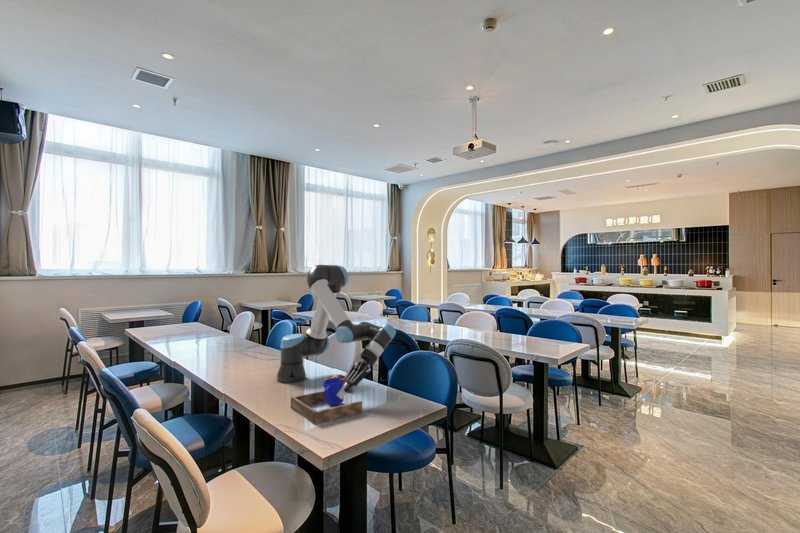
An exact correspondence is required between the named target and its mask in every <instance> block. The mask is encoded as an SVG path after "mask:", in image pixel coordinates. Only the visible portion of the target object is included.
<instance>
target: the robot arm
mask: <svg viewBox="0 0 800 533" xmlns="http://www.w3.org/2000/svg"><path fill="white" fill-rule="evenodd" d="M348 282H349V274H348V271H347V269H346V268H345V267H344V266H343V265H337V264H334V265H333V264H316V265H314V266H313V267H311V268H310V269H309V271H308V273H307V275H306V284H307V287H308V289H309V290H310V292H311V293H312V294H315V296H316V297H317V299H318V300H317V304H316V307H315V311H314V314H313V317H312V321H311V324H310V328H308V329H306V332H305V335H304V333H303V334H302V333H293V334H287V335H284V336H283V337H282V339H281V341H280V365H279V367H278V368H279V369H278V371H277V374H276V381H277V382H278V383H283V384H285V383H286V384H288V383H289V384H293V383H299V382H303V381H305V380H306V379H307V373H306V370H305V366H304V358H309V357H313V356H314V357H315V356H319V355H323V354H325V353H326V352H327V351H328V349H329V346H330V342H329V340H330V338H329V337H328V334H327V332H326V331H327V327H328V323H329V320H330V321H331V322H332V324H333V326H334V327H335V329H336V330H335V333H334V334H335V335H334V336H335V339H336V341H337V342H338V343H340V344H349V343H353V342H361V341H367V340H369V342H368V344H367V345H366V346H365V348H364V349H363V350H362V352H361V353H360V358H359V359H358V360H357V362H355V361H352V363H351V366H350V367H349V369H348V371H347V372H346V375H344V376H345V378H344V380H345V383H344V385H343V386H342V388H341V389H340V391H339V392H338V393H337V396H338V397H339V398H340V399H342V398H343V399H344V397H345V396H346V394H347V393H348V392H349V391H350V389H351V388H353V387H357V386H358V384H359V383H361V381H362V380H363V379H364V378H365V377H366V376H368V374H369V373H371V372H372V369H371V366H374V365H375V364H376V362H377V361H378V358H380V357H381V355H382V353H383V352H384V351H385V350H386V348H387V347H388V346H389V344H390V343H391V342H392V340H393V339H394V337H395V336H396V335H397V334H396V333H397V331H396V329H395V328H394V327H393V325H392V324H389V323H383V324H382V325H381V326H378V325H376V324H373V323H371V322H368V321H361V322H360V323H358V324H353V322H352V321H351V319H350V318H349V316H348V314H347V313H346V311H345V310H344V308H343V306H342V305H341V304H340V301H339V300H338V299H337V295H338V294H340V293H341V289H342V288H344V287H345V286H347V285H348Z"/></svg>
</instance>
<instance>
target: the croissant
mask: <svg viewBox="0 0 800 533" xmlns="http://www.w3.org/2000/svg"><path fill="white" fill-rule="evenodd" d="M345 376H346V375H343V374H335V375H333V374H331V375H329V376H326V378H324V381H325V380H327V379H330V378H336V377H339V378H342V386H343V385H344V383H345V380H344V378H345Z"/></svg>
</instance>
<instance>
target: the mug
mask: <svg viewBox="0 0 800 533" xmlns="http://www.w3.org/2000/svg"><path fill="white" fill-rule="evenodd" d="M322 385H323V386H322V387H323V391H324V392H325V397H326V401H325V402H326V404H327V405H328V406H337V405H338V406H339V405H341V404H342V403H343V402H344V397H343V398H342V399H340V398H339V397H338V396H337V393H338V392H339V391H340V389H341V388H342V378H339V377H336V378H330V379H327V380H325V379H324V381H323V382H322Z"/></svg>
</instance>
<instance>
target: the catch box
mask: <svg viewBox="0 0 800 533" xmlns="http://www.w3.org/2000/svg"><path fill="white" fill-rule="evenodd" d="M324 402H327V401H326V397H325V392H324V390H320V391H315V392H311V393H305V394H300V395H296V396H295V395H294V396H291V397H290V408H291V410H293V411H295V412H296V413H297V414H299V415H300V416H301V417H303V418H305V419H306V420H307V421H309V422H310V423H311V424H313V425H320V424H323V423H327V422H330V421H335V420H339V419H341V418H347V417H350V416H355V415H358V414H362V413H363V401H362V400H358V401H355V402H349V403H346V404H340V405H338V406H337V405H335V406H333V407H329V408H324V409H319V410H316V409H314V408H313V407H311V406H310V405H314V404H320V403H324Z"/></svg>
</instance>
